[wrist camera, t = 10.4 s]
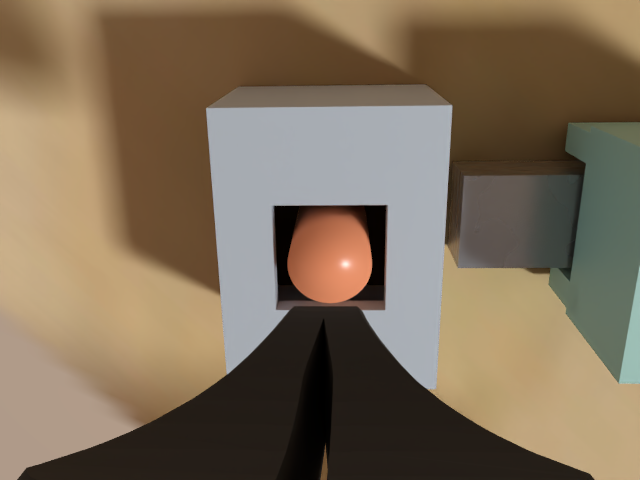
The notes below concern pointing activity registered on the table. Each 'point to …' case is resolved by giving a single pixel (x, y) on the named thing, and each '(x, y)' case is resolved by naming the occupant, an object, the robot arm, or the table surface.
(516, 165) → the rail
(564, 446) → the table surface
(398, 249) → the end cabinet
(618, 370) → the block
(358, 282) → the orange rounded knob
